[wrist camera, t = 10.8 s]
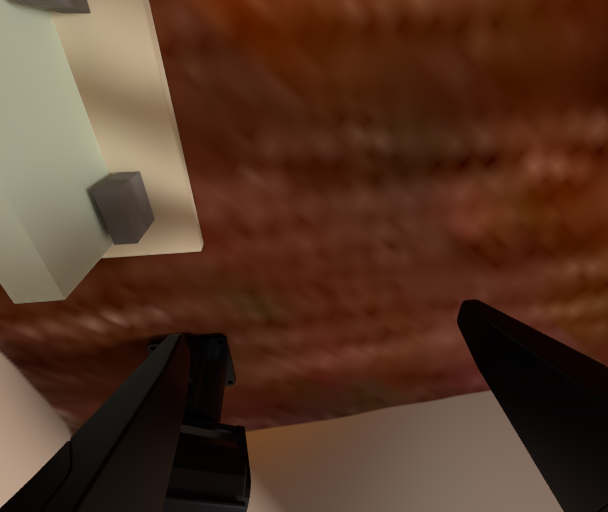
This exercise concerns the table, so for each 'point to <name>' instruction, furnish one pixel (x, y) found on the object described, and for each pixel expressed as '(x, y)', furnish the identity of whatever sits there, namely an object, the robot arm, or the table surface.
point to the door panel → (44, 164)
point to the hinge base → (129, 124)
